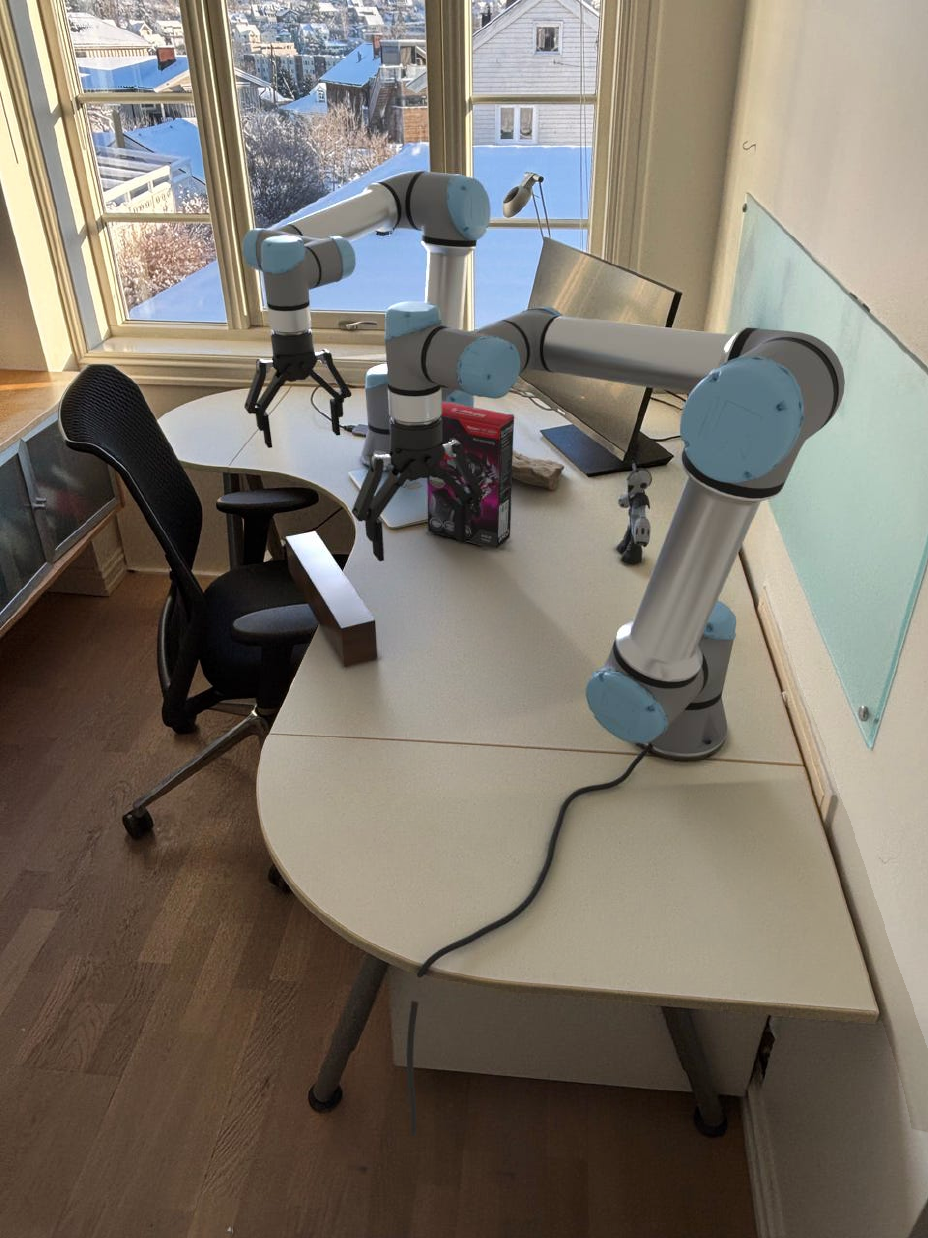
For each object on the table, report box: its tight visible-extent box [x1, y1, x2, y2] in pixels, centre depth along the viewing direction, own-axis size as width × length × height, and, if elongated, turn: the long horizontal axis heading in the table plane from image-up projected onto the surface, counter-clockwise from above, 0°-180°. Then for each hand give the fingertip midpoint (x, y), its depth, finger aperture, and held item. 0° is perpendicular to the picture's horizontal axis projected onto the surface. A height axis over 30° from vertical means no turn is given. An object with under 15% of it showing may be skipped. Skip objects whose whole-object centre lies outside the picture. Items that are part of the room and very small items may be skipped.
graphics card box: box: [426, 401, 516, 550], centre depth 187 cm, size 17×7×27 cm, turn 62°
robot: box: [615, 459, 653, 566], centre depth 183 cm, size 20×5×20 cm, turn 3°
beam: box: [285, 530, 378, 668], centre depth 168 cm, size 34×6×8 cm, turn 25°
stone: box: [512, 449, 565, 490], centre depth 217 cm, size 21×15×6 cm
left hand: (302, 439), depth 179 cm, fingers open, 13 cm apart
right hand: (420, 548), depth 142 cm, fingers open, 13 cm apart
